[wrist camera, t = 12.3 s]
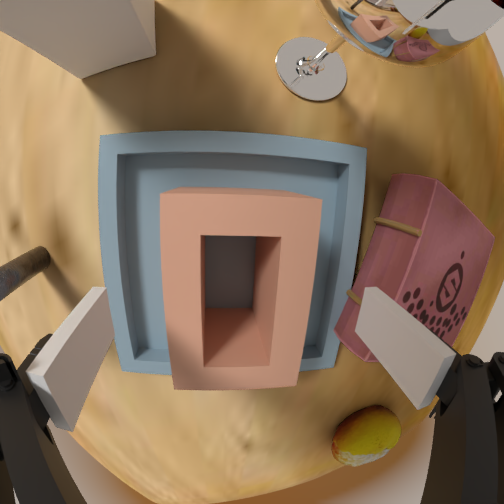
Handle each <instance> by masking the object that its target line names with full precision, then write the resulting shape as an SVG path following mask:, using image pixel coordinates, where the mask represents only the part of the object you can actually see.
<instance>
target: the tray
mask: <svg viewBox="0 0 504 504" xmlns="http://www.w3.org/2000/svg"><path fill="white" fill-rule="evenodd" d="M366 159H367V148H363V147H358V146H353V145H348V144H342V143H336V142H330V141H323V140H317V139H309V138H302V137H293V136H284V135H274V134H263V133H249V132H231V131H151V132H134V133H120V134H110V135H100V145H99V167H98V208H99V230H100V244H101V256H102V266H103V274H104V282H105V287H107V294H108V300H109V306H110V311H111V317H112V322H113V327H114V332H115V337H114V339H115V344H116V348H117V353H118V357H119V361H120V365H121V369H122V371H126V372H136V373H148V374H163V375H172V372H171V365H170V357H169V349H168V341H167V332H166V323H165V312H164V301H163V287H162V271H161V248H160V193H163V192H166V191H169V190H172V189H175V188H178V187H229V188H254V189H273V190H286V191H290V192H294V193H298V194H303V195H307V196H311V197H315V198H319V199H322V210H321V221H320V232H319V241H318V250H317V259H316V267H315V275H314V283H313V290H312V297H311V304H310V311H309V317H308V324H307V330H306V336H305V342H304V347H303V353H302V358H301V364H300V369H299V372H300V371H309V370H318V369H326V368H333V367H334V363H335V360H336V356H337V352H338V348H339V344H340V340H339V339H338V337H337V336H336V334H335V333H334V331H333V330H334V328H335V326H336V324H337V321H338V319H339V317H340V315H341V313H342V310H343V308H344V306H345V304H346V302H347V299H348V297H349V296H348V295H347V293H346V292H347V290H349V289H350V290H351V287H352V282H353V276H354V270H355V264H356V257H357V250H358V243H359V236H360V228H361V220H362V210H363V200H364V189H365V176H366ZM255 250H256V236H223V235H205V308H252V302H253V285H254V268H255Z"/></svg>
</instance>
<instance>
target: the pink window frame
mask: <svg viewBox="0 0 504 504" xmlns="http://www.w3.org/2000/svg"><path fill="white" fill-rule="evenodd" d="M321 210H322V199H319V198H315V197H311V196H307V195H303V194H298V193H294V192H290V191H286V190H273V189H254V188H229V187H178V188H175V189H172V190H169V191H166V192H163V193H160V248H161V271H162V287H163V301H164V312H165V323H166V332H167V341H168V349H169V357H170V365H171V372H172V378H173V385H174V389H178V390H245V389H264V388H277V387H288V386H296V384H297V379H298V374H299V369H300V364H301V358H302V353H303V347H304V342H305V336H306V330H307V324H308V317H309V311H310V304H311V297H312V290H313V283H314V275H315V267H316V259H317V250H318V241H319V232H320V221H321ZM205 235H223V236H256V250H255V268H254V285H253V302H252V308H205Z"/></svg>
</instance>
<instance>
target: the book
mask: <svg viewBox="0 0 504 504" xmlns="http://www.w3.org/2000/svg"><path fill="white" fill-rule="evenodd" d="M374 222H375V223H377V225H376V228H375V231H374V233H373V236H372V239H371V242H370V244H369V247H368V250H367V253H366V255H365V258H364V260H363V263H362V265H361V268H360V271H359V273H358V275H357V278H356V280H355V283H354V285H353V288H352V290H350V289H349V290H347V292H346V293H347V295H348V296H349V297H348V299H347V302H346V304H345V306H344V308H343V310H342V313H341V315H340V317H339V319H338V321H337V324H336V326H335V328H334V330H333V331H334V333H335V334H336V336H337V337H338V339H339V340H340V341H341V342H342V343H343V344H344V345H345V346H346V347H347V348H348V349H349V350H350V351H351V352H353V353H354V354H355V355H357V356H358V357H359V358H361V359H362V360H363V361H365V362H379V360H378V359H377V358H376V357H375V355H374V354H373V353H372V352H371V351H370V349H369V348H368V347H367V346H366V344H365V343H364V342H363V341H362V339H361V338H360V337H359V336H358V335H357V333H356V332H355V328H356V324H357V320H358V316H359V312H360V308H361V304H362V299H363V295H364V290H365V287H378V288H379V289H380V290H381V291H383V292H384V293H385V294H386V295H388V296H389V297H390V298H391V299H392V300H394V301H395V302H396V303H397V304H399V305H400V306H401V307H402V308H404V309H405V310H406V311H407V312H408V313H410V314H411V315H412V316H413V317H414V318H416V319H417V320H418V321H419V322H420V323H422V324H423V325H424V326H425V327H427V328H429V329H430V330H432V331H433V332H435V333H436V334H437V335H438V337H440V338H442V339H443V340H444V342H446V343H447V344H448V345H450V346H451V347H452V346H453V344H454V342H455V340H456V338H457V336H458V334H459V332H460V330H461V328H462V326H463V324H464V322H465V320H466V317H467V315H468V313H469V311H470V308H471V306H472V304H473V301H474V299H475V296H476V294H477V291H478V289H479V286H480V283H481V281H482V278H483V275H484V272H485V269H486V266H487V263H488V260H489V257H490V254H491V250H492V247H493V243H494V240H495V237H494V236H493V235H492V233H491V232H490V231H489V230H488V229H487V228H486V227H485V226H484V224H483V223H482V222H481V221H480V220H479V219H478V218H477V217H476V216H475V215H474V214H473V213H472V212H471V211H470V210H469V209H468V208H467V207H466V206H465V205H464V204H463V203H462V202H461V201H460V200H459V199H458V198H457V197H456V196H455V195H454V194H453V193H452V192H451V191H450V190H449V189H448V188H447V187H445V186H444V185H443V184H442V183H441V182H440V181H439V180H438V179H434V178H430V177H426V176H421V175H415V174H404V173H402V174H392V177H391V180H390V184H389V187H388V191H387V194H386V197H385V200H384V204H383V207H382V210H381V213H380V216H379V217H375V219H374Z"/></svg>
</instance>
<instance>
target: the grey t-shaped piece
mask: <svg viewBox="0 0 504 504" xmlns="http://www.w3.org/2000/svg"><path fill="white" fill-rule="evenodd" d="M49 264H50V256H49V253H48V251H47V250H46V249H45V248H44V247H42V246H38V247H36V248H34V249H32V250H30V251H28V252H26V253H25V254H23V255H21V256H19V257H17V258H15V259H13V260H12V261H10V262H8V263H6V264H4V265H3V266H1V267H0V301H1V300H2V299H4V298H5V297H6V296H8V295H9V294H10V293H12V292H13V291H14V290H16V289H17V288H18V287H20V286H21V285H23V284H24V283H25V282H27V281H28V280H30V279H31V278H32V277H34V276H35V275H37V274H38V273H40V272H41V271H43V270H44V269H46V268H47V267H48V266H49Z"/></svg>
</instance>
